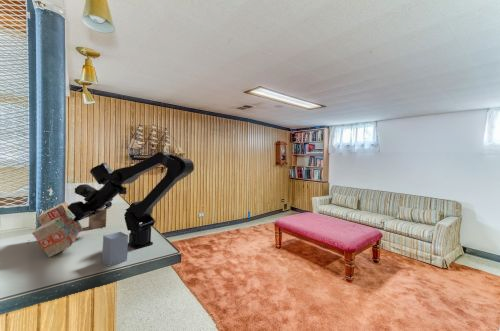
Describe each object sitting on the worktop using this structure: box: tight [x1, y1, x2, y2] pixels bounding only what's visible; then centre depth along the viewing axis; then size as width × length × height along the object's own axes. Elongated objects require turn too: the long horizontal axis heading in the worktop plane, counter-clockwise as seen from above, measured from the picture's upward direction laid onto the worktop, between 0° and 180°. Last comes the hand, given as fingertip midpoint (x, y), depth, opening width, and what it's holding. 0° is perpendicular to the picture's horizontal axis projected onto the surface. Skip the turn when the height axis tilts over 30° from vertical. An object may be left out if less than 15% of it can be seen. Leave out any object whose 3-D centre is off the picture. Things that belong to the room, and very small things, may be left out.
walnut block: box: [88, 207, 108, 230], centre depth 101 cm, size 5×5×8 cm
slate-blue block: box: [101, 231, 129, 267], centre depth 70 cm, size 5×5×8 cm
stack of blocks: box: [31, 202, 84, 258], centre depth 79 cm, size 21×6×12 cm, turn 29°
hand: (75, 220), depth 86 cm, fingers closed
